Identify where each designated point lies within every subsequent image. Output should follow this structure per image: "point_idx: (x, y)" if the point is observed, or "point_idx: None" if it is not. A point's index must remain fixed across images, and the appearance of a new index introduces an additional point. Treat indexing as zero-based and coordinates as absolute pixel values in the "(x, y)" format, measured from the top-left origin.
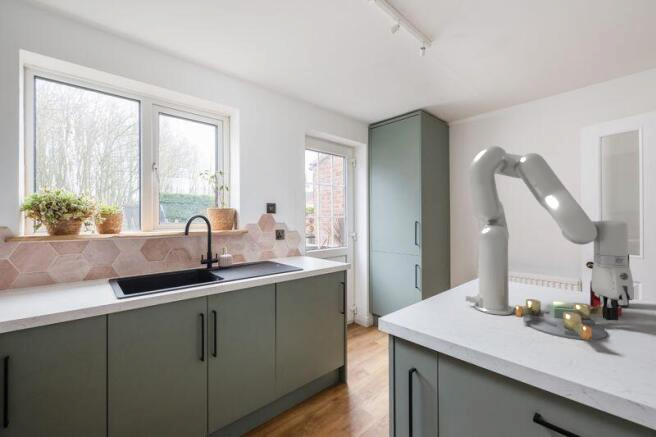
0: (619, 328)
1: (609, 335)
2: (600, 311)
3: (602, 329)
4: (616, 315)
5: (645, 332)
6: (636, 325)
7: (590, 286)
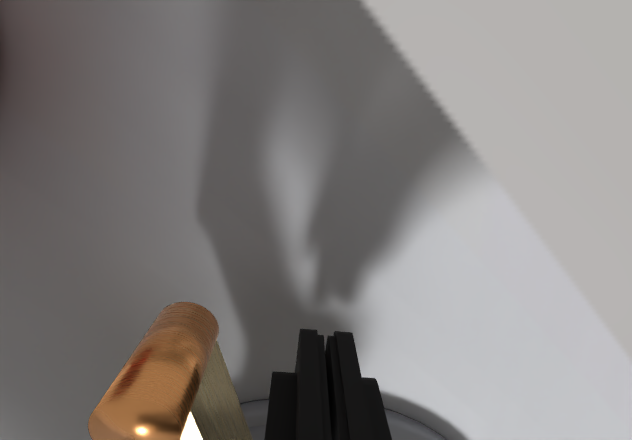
0: (339, 274)
1: (444, 420)
2: (222, 421)
3: (400, 437)
4: (380, 405)
5: (433, 149)
6: (267, 52)
7: None
